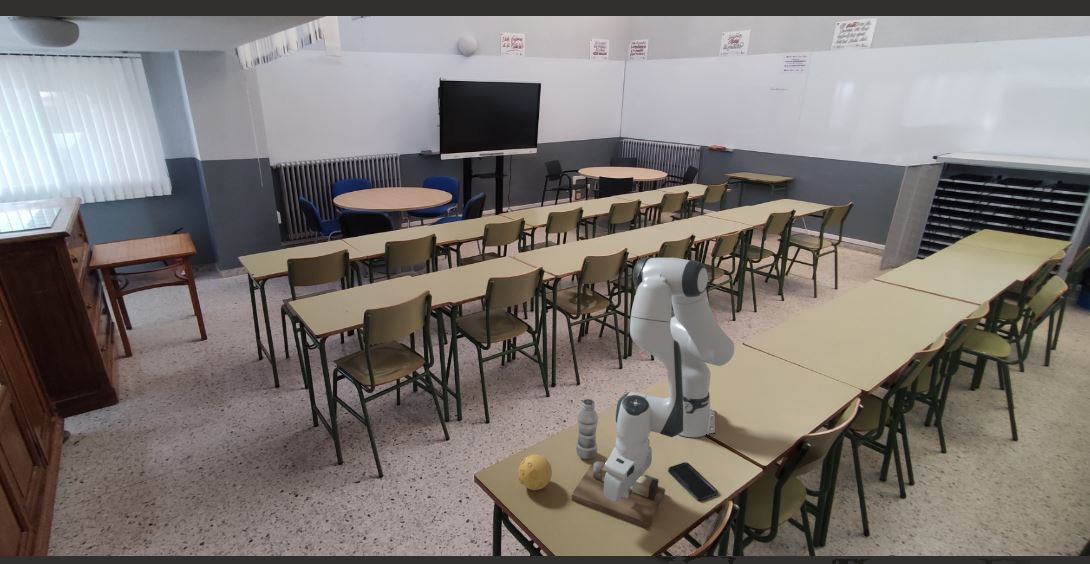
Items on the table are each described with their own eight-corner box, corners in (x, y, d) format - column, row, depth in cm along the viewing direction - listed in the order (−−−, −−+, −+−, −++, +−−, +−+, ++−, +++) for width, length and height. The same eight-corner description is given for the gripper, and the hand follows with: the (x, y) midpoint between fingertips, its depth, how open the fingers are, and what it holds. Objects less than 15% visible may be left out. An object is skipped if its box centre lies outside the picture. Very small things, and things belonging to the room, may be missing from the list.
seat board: (591, 468, 162) (592, 455, 161) (664, 494, 152) (666, 480, 151) (571, 499, 150) (571, 485, 148) (649, 529, 140) (650, 514, 138)
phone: (686, 461, 165) (720, 492, 152) (686, 464, 165) (719, 495, 152) (666, 468, 162) (698, 500, 149) (666, 471, 162) (698, 503, 149)
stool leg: (591, 477, 155) (592, 466, 154) (595, 471, 158) (596, 459, 157) (653, 499, 147) (654, 487, 146) (656, 492, 150) (658, 480, 148)
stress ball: (545, 476, 160) (522, 454, 160) (563, 465, 154) (539, 442, 154) (530, 502, 152) (505, 478, 152) (548, 491, 146) (522, 466, 146)
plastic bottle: (595, 463, 165) (598, 409, 158) (574, 460, 166) (576, 406, 159) (597, 450, 171) (600, 397, 164) (577, 447, 172) (579, 395, 165)
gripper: (639, 431, 151) (635, 470, 155) (600, 467, 135) (598, 509, 140) (659, 439, 147) (655, 480, 152) (622, 478, 132) (618, 521, 136)
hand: (627, 494), depth 146 cm, fingers closed
